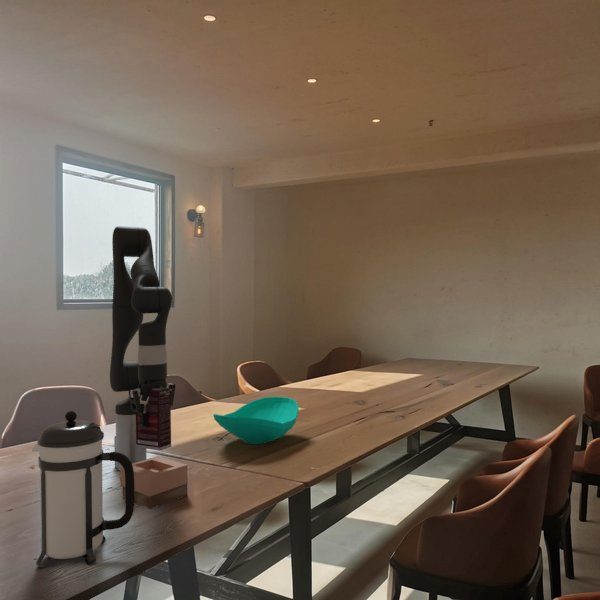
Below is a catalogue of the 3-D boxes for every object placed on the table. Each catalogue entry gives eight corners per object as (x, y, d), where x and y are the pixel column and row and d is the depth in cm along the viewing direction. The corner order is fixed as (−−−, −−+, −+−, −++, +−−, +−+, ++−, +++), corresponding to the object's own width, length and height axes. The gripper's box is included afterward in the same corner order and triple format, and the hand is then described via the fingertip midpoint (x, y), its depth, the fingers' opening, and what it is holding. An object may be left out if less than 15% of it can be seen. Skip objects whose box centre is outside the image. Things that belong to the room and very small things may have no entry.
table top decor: (253, 426, 230) (252, 394, 230) (314, 433, 218) (314, 399, 218) (194, 451, 194) (193, 413, 194) (263, 461, 182) (263, 420, 182)
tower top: (120, 485, 150) (120, 466, 149) (158, 473, 159) (157, 456, 159) (149, 496, 141) (149, 476, 141) (187, 483, 150) (187, 464, 150)
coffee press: (55, 582, 106) (54, 423, 106) (20, 556, 117) (18, 412, 116) (137, 550, 119) (135, 408, 119) (98, 529, 129) (97, 399, 129)
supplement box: (172, 446, 150) (171, 387, 150) (159, 451, 146) (159, 390, 146) (147, 443, 154) (147, 385, 154) (134, 447, 150) (134, 388, 150)
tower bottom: (122, 500, 149) (122, 485, 149) (159, 488, 159) (159, 474, 159) (150, 511, 142) (150, 495, 142) (187, 497, 151) (187, 482, 151)
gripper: (164, 358, 158) (165, 418, 158) (120, 363, 146) (121, 428, 147) (182, 360, 153) (183, 422, 153) (138, 365, 142) (139, 432, 142)
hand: (153, 425), depth 150 cm, fingers closed on supplement box, 5 cm apart
